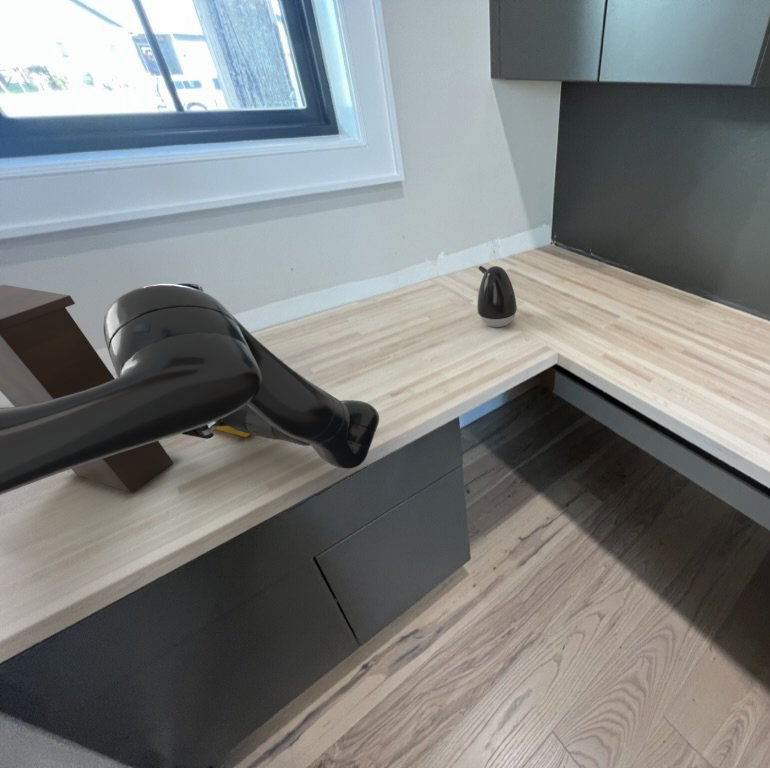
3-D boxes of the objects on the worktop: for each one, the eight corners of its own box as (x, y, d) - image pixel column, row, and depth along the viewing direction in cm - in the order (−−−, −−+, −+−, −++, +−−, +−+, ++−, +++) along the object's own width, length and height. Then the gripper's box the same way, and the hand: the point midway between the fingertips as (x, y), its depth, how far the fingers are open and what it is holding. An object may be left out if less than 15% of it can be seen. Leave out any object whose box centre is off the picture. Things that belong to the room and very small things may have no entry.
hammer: (150, 419, 81) (145, 412, 80) (172, 406, 84) (167, 398, 83) (241, 444, 74) (237, 437, 73) (260, 428, 78) (256, 421, 77)
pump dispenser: (495, 310, 117) (492, 256, 108) (524, 320, 111) (524, 264, 102) (469, 324, 110) (464, 268, 101) (500, 335, 105) (497, 277, 96)
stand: (68, 479, 68) (-89, 311, 51) (124, 442, 75) (3, 284, 58) (127, 499, 65) (-20, 326, 47) (181, 459, 72) (70, 295, 54)
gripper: (290, 373, 73) (220, 359, 78) (221, 424, 62) (144, 404, 67) (304, 406, 78) (237, 391, 82) (241, 459, 67) (168, 439, 71)
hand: (195, 397), depth 74 cm, fingers open, 8 cm apart
